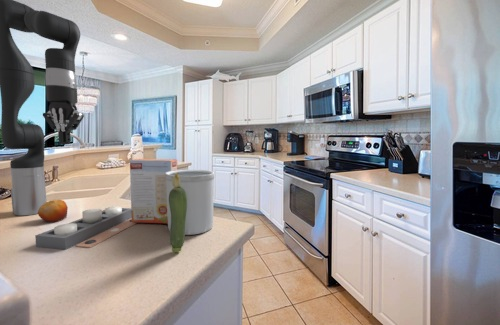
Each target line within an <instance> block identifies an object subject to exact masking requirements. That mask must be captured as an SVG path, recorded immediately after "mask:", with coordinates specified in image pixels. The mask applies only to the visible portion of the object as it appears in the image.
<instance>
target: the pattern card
mask: <svg viewBox="0 0 500 325" xmlns="http://www.w3.org/2000/svg"><path fill="white" fill-rule="evenodd" d="M138 223H139V222H132V218H131V219H128V220H126V221H124V222H122V223H120V224H118V225H116V226H114V227H112V228H110V229H108V230H106V231H103V232H101V233H99V234H97V235H95V236H93V237H91V238H89V239H87V240H85V241H83V242H81V243H78V244H76V245H74V247H79V248H86V249H89V248H93V247H94V246H96V245H98V244H100V243H102V242H104V241H106V240H108V239H110V238H111V237H113V236H115V235H118V234H119V233H121V232H123V231H125V230H127V229H128V228H131V227H132V226H134V225H136V224H138Z"/></svg>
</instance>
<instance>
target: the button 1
mask: <svg viewBox="0 0 500 325" xmlns="http://www.w3.org/2000/svg"><path fill="white" fill-rule="evenodd" d="M53 229H54V234H55V235H64V236H66V235H68V234H70V233H73V232H75V231H77V224H75V223H71V222H69V223H63V224H60V225H57V226H55V227H54V228H53Z"/></svg>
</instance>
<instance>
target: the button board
mask: <svg viewBox="0 0 500 325" xmlns="http://www.w3.org/2000/svg"><path fill="white" fill-rule="evenodd" d="M131 218H132V216H131V207H128V208H127V207H122V212H121V213H118V214H116V215H112V214H105V209H104V210H103V209H102V220H101V221H99V222H96V223H89V224H88V223H83V217H82V218H79V219H77V220H74V221H71V222H70V223H75V224H77V231H75V232H73V233H70V234H68V235H66V236H64V235H55V234H54V228H51V229H49V230H46V231H44V232H41V233H38V234H36V235H34V236H35V248H47V249H56V250H68V249H70V248H72V247H75V245H77V244H79V243H81V242H83V241H85V240H88V239H90V238H92V237H94V236H96V235H98V234H100V233H102V232H104V231H106V230H108V229H110V228H112V227H115V226H117V225H119V224H121V223H123V222H125V221H127V220H129V219H131Z"/></svg>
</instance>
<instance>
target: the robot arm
mask: <svg viewBox="0 0 500 325" xmlns="http://www.w3.org/2000/svg"><path fill="white" fill-rule="evenodd" d="M11 29H12V30H16V31H20V32H23V33H28V34H29V33H30V34H31V33H34V34H36V35H37V36H40V37H41V38H44V39H47V40H51V41H54V42H57V43H61V44H62V45H63V46H62V48H59V47H58V48H57V47H50V48H46V49H45V50H44V58H45V59H44V60H45V62H44V63H45V76H44V80H45V93H46V101H47V102H48V103H49V106H48V111H47V112H42V116H43V118H44V119H45V122H47V123H48V125H49V126H50V128H51V129H52V130H55V131H56V132H57V133H58V134H57V135H58V142H59V144H60V145H69V144H71V132H72V131H75V130H77V129H78V127H79V125H80V124H81V122H82V120H83V119H84V117H85V115H84V113H80V112H79V111H78V106H77V104H78V84H77V83H78V82H77V77H76V66H75V65H76V64H75V60H76V55H77V50H78V49H77V48H78V46H79V43H80V40H81V31H80V28H79V26H78V24H77V23H76V22H75V21H73V20H70V19H67V18H64V17H62V16H60V15H57V14H54V13H52V12H48V11H45V10H35V9H34V8H32V7H31V6H29V5H27V4H25V3H22V2H19V1H16V0H0V100H1V121H0V122H1V123H0V124H1V126H0V127H1V129H0V130H1V131H0V132H1V133H0V136H1V141H2V144H3V146H4V148H6V149H8V150H27V152H26V153H25V154H24V155H22V156H19V157H16V158H13V159H12V160H10V163H9V164H10V166H9V167H10V176H11V188H10V195H11V196H10V197H11V207H12V209H11V210H12V214H14V215H15V216H30V215H31V216H32V215H36V214H37V215H38V210H39V208H40V207H41V206H42V205H43V204H44V203H46V202H48V201H47V191H46V179H45V178H46V177H45V163H44V162H45V135H44V130H43V127H41V126H40V125H39V124H35V123H32V124H31V123H18V119H19V118H18V117H19V113H20V110H21V108H22V106H23V105H24V104H25V102H26V101H27V100H29V98H30V96H31V95H32V94H33V93H34V90H35V86H36V85H35V73H34V68H33V66H32V65H31V63H30V62H29V60H28V59H27V58H26V56H25V55H24V53H23V52H22V51H21V50H20V49H19V47H18V45H17V43H16V42H15V39H14V38H13V36H12V32H11Z"/></svg>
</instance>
